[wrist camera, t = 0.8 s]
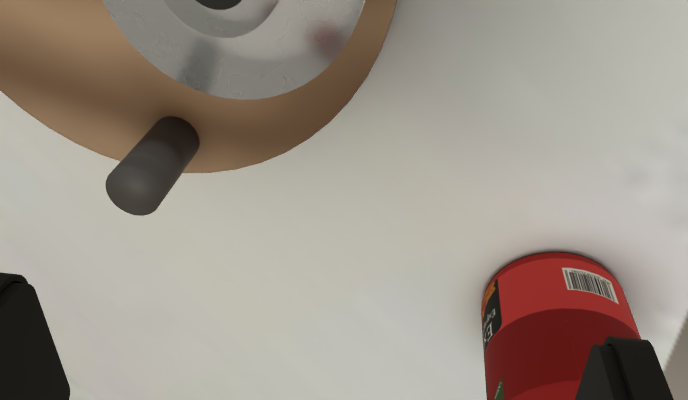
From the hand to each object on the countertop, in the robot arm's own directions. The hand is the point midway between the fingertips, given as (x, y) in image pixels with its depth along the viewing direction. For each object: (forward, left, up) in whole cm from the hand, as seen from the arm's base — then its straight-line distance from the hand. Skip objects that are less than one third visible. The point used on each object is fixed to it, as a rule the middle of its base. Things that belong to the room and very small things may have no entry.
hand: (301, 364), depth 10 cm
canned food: (+17, +10, -21) cm, 29 cm away
